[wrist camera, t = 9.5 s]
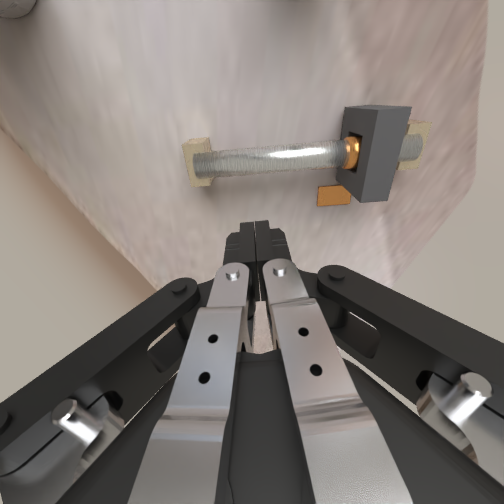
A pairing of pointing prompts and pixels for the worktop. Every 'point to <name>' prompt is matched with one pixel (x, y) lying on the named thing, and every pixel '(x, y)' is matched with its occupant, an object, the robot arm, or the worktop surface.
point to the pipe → (296, 159)
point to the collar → (373, 149)
